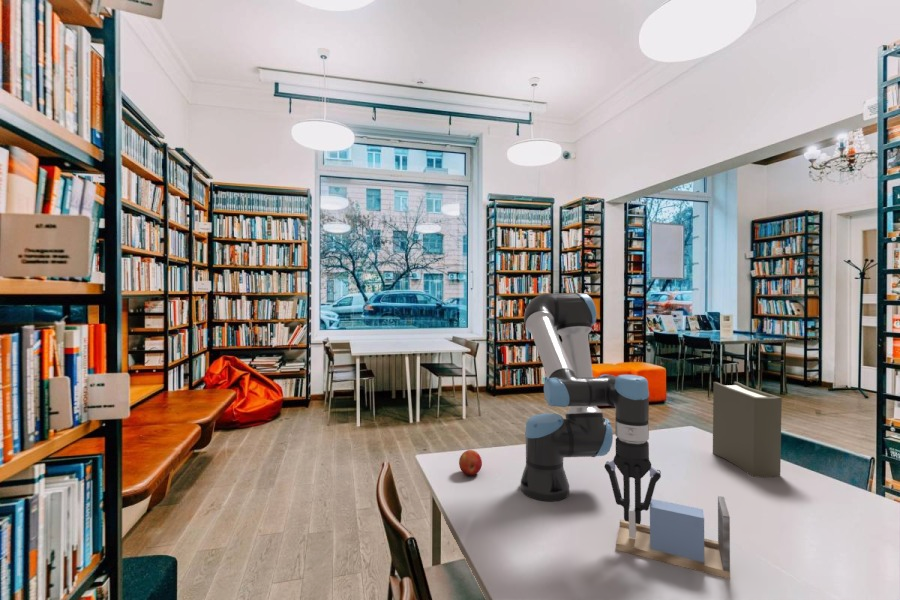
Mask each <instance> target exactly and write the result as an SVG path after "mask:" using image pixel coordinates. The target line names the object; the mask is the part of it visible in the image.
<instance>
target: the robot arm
mask: <svg viewBox="0 0 900 600" xmlns="http://www.w3.org/2000/svg"><path fill="white" fill-rule="evenodd" d="M597 314H598V313H597V309H596V305H595V302H594V300H593V298H592V297H591V296H590V295H589V294H587V293H578V292H571V293H569V292H567V293H566V292H565V293H559V292H558V293H557V292H556V293H550V292H549V293H548V292H547V293H541V294H539V295H537V296H536V297H534V298H532V300H530V302H529V303H528V304H527V306H526V308H525V311H524V314H523V315H524V316H523V321H524V322H523V323H524V326H525V328H526V330H527V331H528V332H529V334H531V335H532V338H533V341H534V344H535V347H536V349H537V352H538V355H539V358H540V361H541V364H542V367H543V369H544V372H545V374H546V377H547V379H545V381H544V383H543V395H544V400H545V402H546V404H547V405H548V406H550V407H558V408H559V407H561V408H562V407H563V408H567V407H569V408H568V409H567V411H566V412H565V418H563V416H562V415H561V414H558V413H551V412H546V413H540V414H539V413H538V414H535V415H532V416H531V417H529V418H528V419H527V421H526V423H525V433H524V436H525V467H524V469H523V472H522V474H521V475H522V476H521V478H520V491H521V492H522V493H523V494H524V495H526V496H527V497H529V498H532V499H534V500H538V501H546V502H554V501H555V502H556V501H561V500H564V499H566V498H567V497H568V496H569V495H570V484H569V481H568V477H567V473H566V471H565V468H564V459H565V458H596V457H603V456H606V455H608V453H610V451H611V448H612V446H613V439H614V438H613V437H614V436H613V435H614V434H613V433H614V432H613V428H612V427H613V426H612V425H611V421H610V419H608V418H606V417H604V414H603V411H602V410H601V409H600V408H599V407H598V406H610V407H613V408H614V409H615V412H614V413H615V416H614V417H615V419H614V420H615V437H616V438H615V455H614V457H613V460H610V461H606V462H605V464H604V469H605V471H606V473H607V474H608V476H609V481H610V485H611V488H612V492H613V497H614V500H615V503H616V505H619V506H621V507H623V520H624V521H628V522H629V537H631V538H635V537H636V523H637V524H642V523H641V522H642V511H649V510H650V502H651V499H653V494H654V491H655V489H656V488H655V487H656V483H658V481H659V480H660V479H661V476H662V471H661V470H659V469H656V468H655V467H654V466H652V462H651V460H650V443H649V439H650V434H649V433H650V423H649V420H650V419H649V417H650V416H649V415H650V414H649V409H650V408H649V407H650V406H649V405H650V402H649V401H650V397H649V396H650V391H649V381H648V379H647V378H645V377H644V376H641V375H636V374H619V375H617V376H615V375H612V374H601V375H598V376H597V377H596V376H594V375H593V374H594V373H593V365H592V358H591V350H590V342H589V333H591V331H592V330H593V329H592V327H593V326H594V325H595V324H596V322H597ZM560 337H561V339H562V340H561V339H560ZM616 468H617V470H619V472H620V473H621V474H622V476H623V478H622V481H623V496H622V494H621V489H620V484H619V480H618V477H617V474H616ZM648 472H649V477H650V478H649V482H648V486H647V490H646V494H645V497H644V500H643V501H642V478H644V477H645V475H646V474H648ZM630 478H632V479H634V505H630V504H631V493H630V492H631V490H630V489H631V484H630V481H631V480H630Z"/></svg>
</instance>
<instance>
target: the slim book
mask: <svg viewBox="0 0 900 600" xmlns="http://www.w3.org/2000/svg"><path fill="white" fill-rule="evenodd" d="M649 526H650V549H652V550H656V551H660V552H664V553H668V554H672V555H676V556H680V557H684V558H688V559H692V560H696V561H700V562H704V563H705V561H704V539H705V514H704V509H703V508H699V507H694V506H689V505H684V504H679V503H673V502H670V501H663V500H660V499H654V498H652V499H651V502H650V506H649Z"/></svg>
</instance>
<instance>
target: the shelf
mask: <svg viewBox="0 0 900 600" xmlns="http://www.w3.org/2000/svg"><path fill="white" fill-rule="evenodd" d="M730 519H731V517H730V513H729V510H728V506H727V503H726V500H725V497H724V496H722V495H717V540H714V539H713V540H712V539H710V538H709V539H707V538H704V561H705V563H704V562H700V561H696V560H692V559H688V558H684V557H680V556H676V555H672V554H668V553H664V552H660V551H656V550H652V549H650V525H645V524H642V523H640V524H637V523H636V537H635V538H631V537H629V522H628V521H625V520H624V519H619V527H618V532H617V536H616V542H615V550H616V551H620V552H623V553H628V554H631V555H632V554H633V555H636V556H639V557H644V558H647V559H650V560H655V561H659V562H663V563H666V564H670V565H675V566H678V567H683V568H686V569H690V570H694V571H698V572H702V573H706V574H710V575H714V576H718V577H721V578H725V579H729V580H730V579H731V536H730V535H731V529H730V528H731V526H730V524H731V523H730V522H731V520H730Z"/></svg>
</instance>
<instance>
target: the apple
mask: <svg viewBox="0 0 900 600" xmlns="http://www.w3.org/2000/svg"><path fill="white" fill-rule="evenodd" d="M482 460H483V459H482V457H481V455H480V454H479V453H478V452H477V451H476V450H472V449H468V450H465V451H464V452H462V454H461V455H460V457H459V460H458V465H459V469H460V470H461V473H463V474H464V475H465V476H468V477H470V476H471V477H472V476H475V475H476V474H479V472H481V469H482V466H483V461H482Z"/></svg>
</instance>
